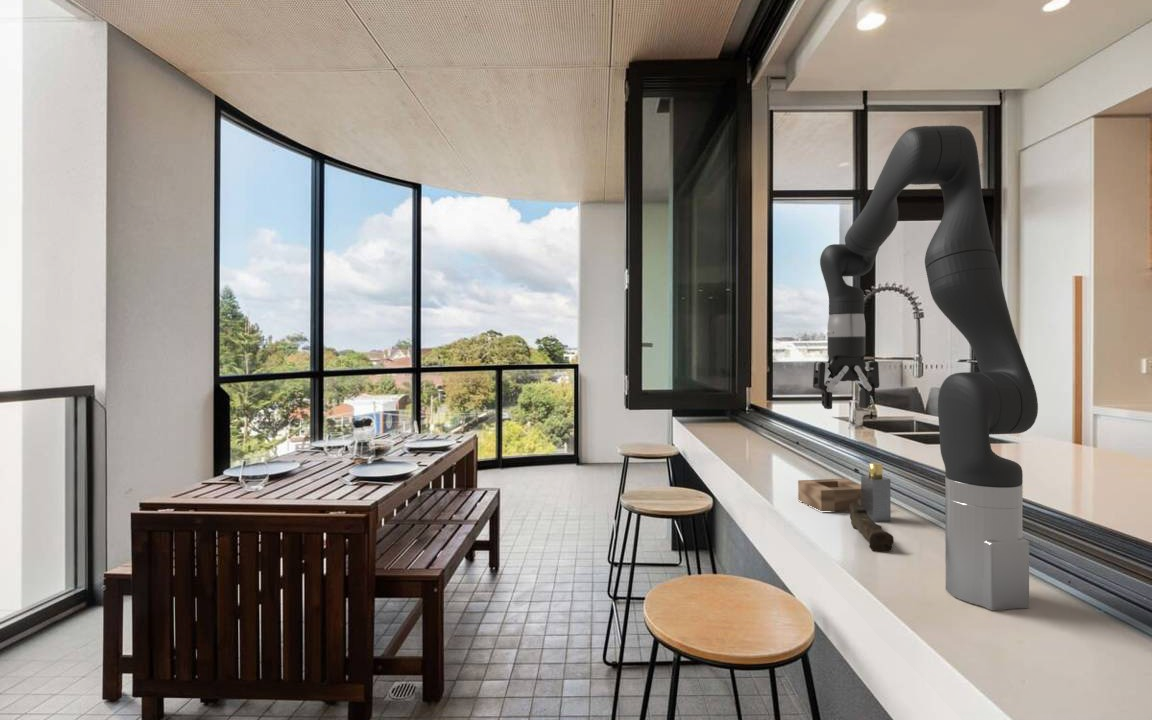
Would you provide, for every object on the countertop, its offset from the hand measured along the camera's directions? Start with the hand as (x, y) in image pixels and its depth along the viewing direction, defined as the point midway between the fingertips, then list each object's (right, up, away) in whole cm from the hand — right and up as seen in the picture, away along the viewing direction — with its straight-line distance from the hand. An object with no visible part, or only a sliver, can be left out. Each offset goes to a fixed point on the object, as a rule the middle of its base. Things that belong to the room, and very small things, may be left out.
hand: (845, 408), depth 123 cm
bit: (+5, -24, -3) cm, 24 cm away
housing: (+1, -24, +8) cm, 25 cm away
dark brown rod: (-3, -24, -13) cm, 28 cm away
